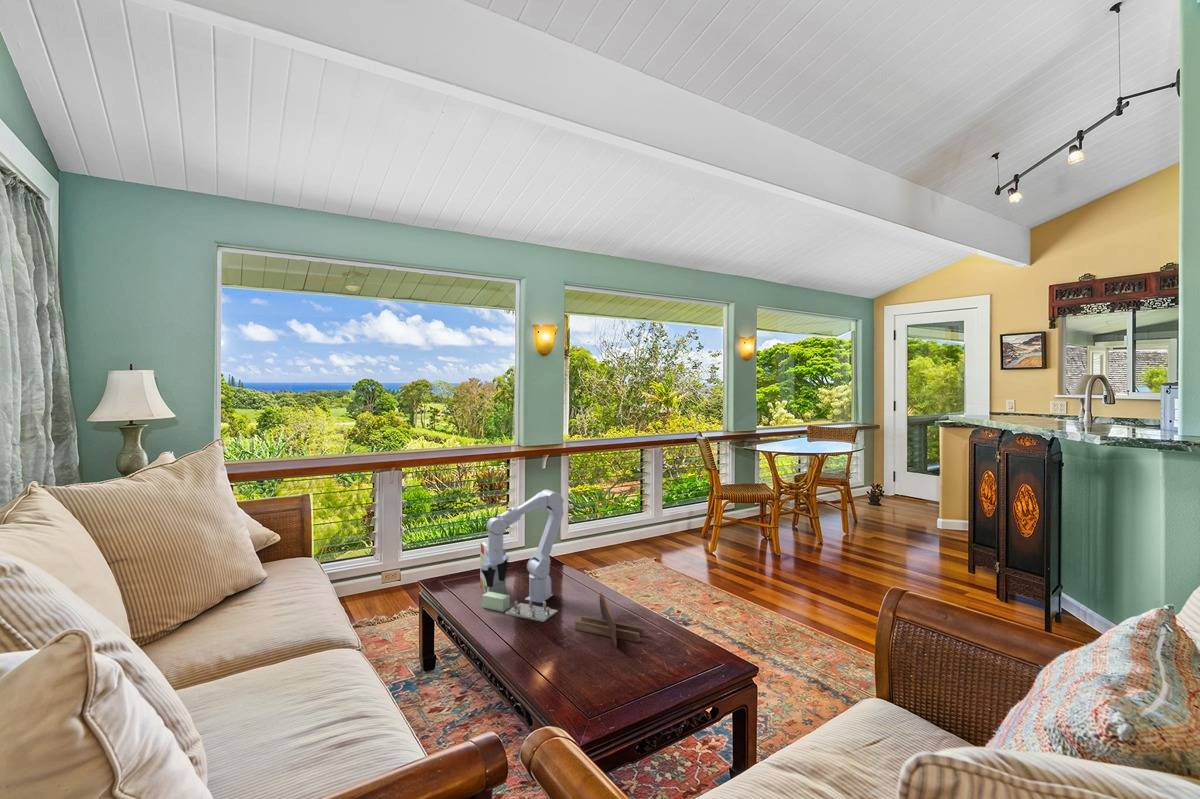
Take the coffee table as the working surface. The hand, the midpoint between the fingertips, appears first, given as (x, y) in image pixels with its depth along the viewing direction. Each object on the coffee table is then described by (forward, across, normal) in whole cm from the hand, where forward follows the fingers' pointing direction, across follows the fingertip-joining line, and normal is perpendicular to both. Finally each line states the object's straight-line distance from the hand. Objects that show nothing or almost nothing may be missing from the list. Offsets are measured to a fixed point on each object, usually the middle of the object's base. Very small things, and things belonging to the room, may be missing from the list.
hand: (495, 583), depth 215 cm
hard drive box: (+10, -14, -12) cm, 21 cm away
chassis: (+9, -1, +16) cm, 18 cm away
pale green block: (+10, 0, 0) cm, 10 cm away
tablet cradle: (+9, +2, +50) cm, 51 cm away
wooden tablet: (+9, +2, +50) cm, 51 cm away
